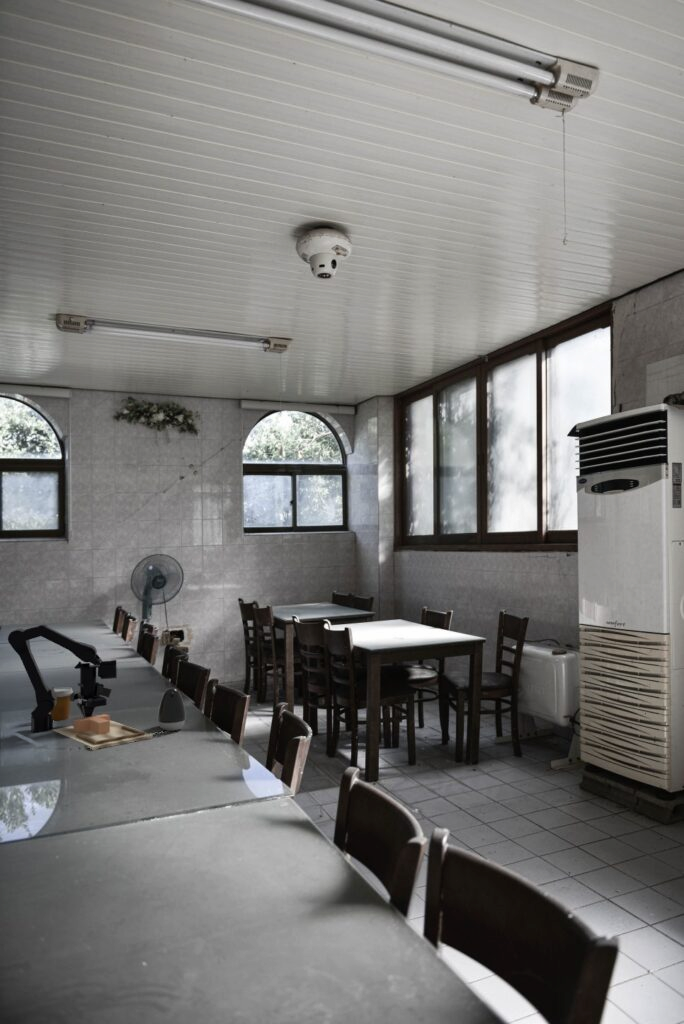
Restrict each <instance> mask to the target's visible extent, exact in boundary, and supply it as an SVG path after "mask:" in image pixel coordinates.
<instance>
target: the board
mask: <svg viewBox="0 0 684 1024" xmlns="http://www.w3.org/2000/svg"><path fill="white" fill-rule="evenodd" d="M73 728H74V725H70V726H65V727H60V728H55V729H54V728H53V729H52V731H54V732H56V733H58V734H61V735H63V736H65V737H67V738H70V739H71V740H74V741H77V742H79V743H81V744H84V746H85V747H84V748H86V747H87V748H86V749H88V748H90V749H89V750H91V749H92V750H91V751H94V750H93V749H96V750H100V749H99V748H101V749H106V748H110V746H111V747H114V746H115V745H116V746H120V744H121V745H125V743H126V744H130V742H131V743H135V741H136V742H139V741H144V740H149V739H153V738H154V736H153V734H151V733H149V732H145V731H142V730H139V729H137V728H133V727H130V726H127V725H125V724H122V723H119V722H116V721H113V720H111V719H110V732H109V733H104V734H97V733H94V732H91V731H84V732H79V733H78V732H76V731H73ZM116 746H115V747H116ZM105 747H106V748H105Z"/></svg>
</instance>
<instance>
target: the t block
mask: <svg viewBox="0 0 684 1024" xmlns="http://www.w3.org/2000/svg"><path fill="white" fill-rule="evenodd" d="M110 720H111V715H109V714H106V713H102V714H99V715H98V714H97V715H92V716H91V717H85V718H84V717H80V718H74V719H73V726H74V728H73V731H76V732H78V733H79V732H84V731H91V732H94V733H97V734H104V733H109V732H110Z"/></svg>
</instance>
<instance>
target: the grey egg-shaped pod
mask: <svg viewBox="0 0 684 1024" xmlns="http://www.w3.org/2000/svg"><path fill="white" fill-rule="evenodd" d="M186 719H187V714H186V707H185V703H184V700H183V696H182V694H181V692H180V691H179V690H178V688H177V687H176V688H175V687H169V688H167V689H166V690H165V691H164V693H163V695H162V697H161V700H160V703H159V707H158V712H157V723H158V725H159V727H160V728H161V729H163V730H164V731H166V732H176V731H179V730H180V729H181V728H182V727H184V725H185V722H186ZM175 730H176V731H175Z"/></svg>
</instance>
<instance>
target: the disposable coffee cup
mask: <svg viewBox="0 0 684 1024" xmlns="http://www.w3.org/2000/svg"><path fill="white" fill-rule="evenodd" d="M53 688H54V692H55V694H56V695H57V696H58V697H57V698H56V699H57V703H56V705H55V707H54V708H53V710H52V711H50V713H49V714H50V715H52V719H53V720H54V721H57V722H60V721H61V720H62V721H67V720H66V719H68V718H69V719H70V711H71V704H72V701H70V695H71V694H72V693H74V691H73V688H72V687H69V686H68V687H65V686H63V687H53ZM69 719H68V720H69Z"/></svg>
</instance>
